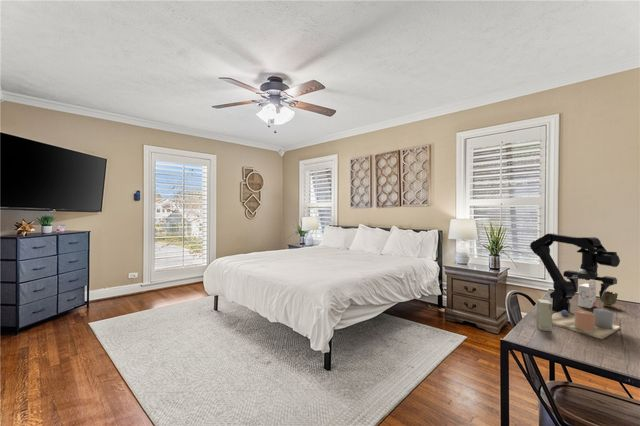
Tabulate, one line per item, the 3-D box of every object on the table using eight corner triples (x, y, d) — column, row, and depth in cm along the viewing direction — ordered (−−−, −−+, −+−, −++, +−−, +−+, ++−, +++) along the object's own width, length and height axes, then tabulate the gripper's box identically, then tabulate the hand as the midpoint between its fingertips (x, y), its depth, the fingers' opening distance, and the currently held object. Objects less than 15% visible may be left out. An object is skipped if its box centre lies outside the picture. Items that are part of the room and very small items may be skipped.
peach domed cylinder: (578, 324, 134) (578, 309, 134) (596, 329, 128) (597, 313, 128) (572, 327, 131) (572, 311, 130) (590, 332, 125) (591, 316, 125)
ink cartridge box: (584, 303, 168) (585, 278, 167) (595, 306, 163) (596, 280, 163) (577, 305, 164) (578, 279, 163) (588, 308, 159) (589, 281, 159)
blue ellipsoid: (559, 315, 145) (559, 309, 145) (562, 314, 147) (562, 308, 146) (567, 317, 142) (567, 311, 142) (569, 316, 144) (569, 310, 144)
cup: (594, 304, 167) (595, 290, 167) (606, 304, 168) (607, 290, 167) (608, 308, 159) (609, 294, 159) (621, 308, 160) (621, 294, 160)
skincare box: (552, 332, 128) (553, 304, 127) (539, 330, 129) (540, 302, 129) (547, 326, 133) (548, 300, 133) (536, 325, 135) (537, 298, 135)
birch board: (540, 320, 140) (540, 318, 140) (560, 313, 152) (560, 310, 151) (602, 339, 121) (602, 336, 121) (620, 328, 133) (620, 326, 133)
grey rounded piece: (590, 325, 134) (591, 309, 133) (595, 322, 137) (596, 307, 137) (609, 330, 128) (610, 314, 128) (614, 327, 131) (615, 312, 131)
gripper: (559, 261, 147) (558, 291, 148) (609, 268, 131) (608, 302, 132) (568, 259, 153) (567, 289, 153) (618, 265, 137) (616, 299, 137)
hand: (588, 294), depth 144 cm, fingers open, 9 cm apart
